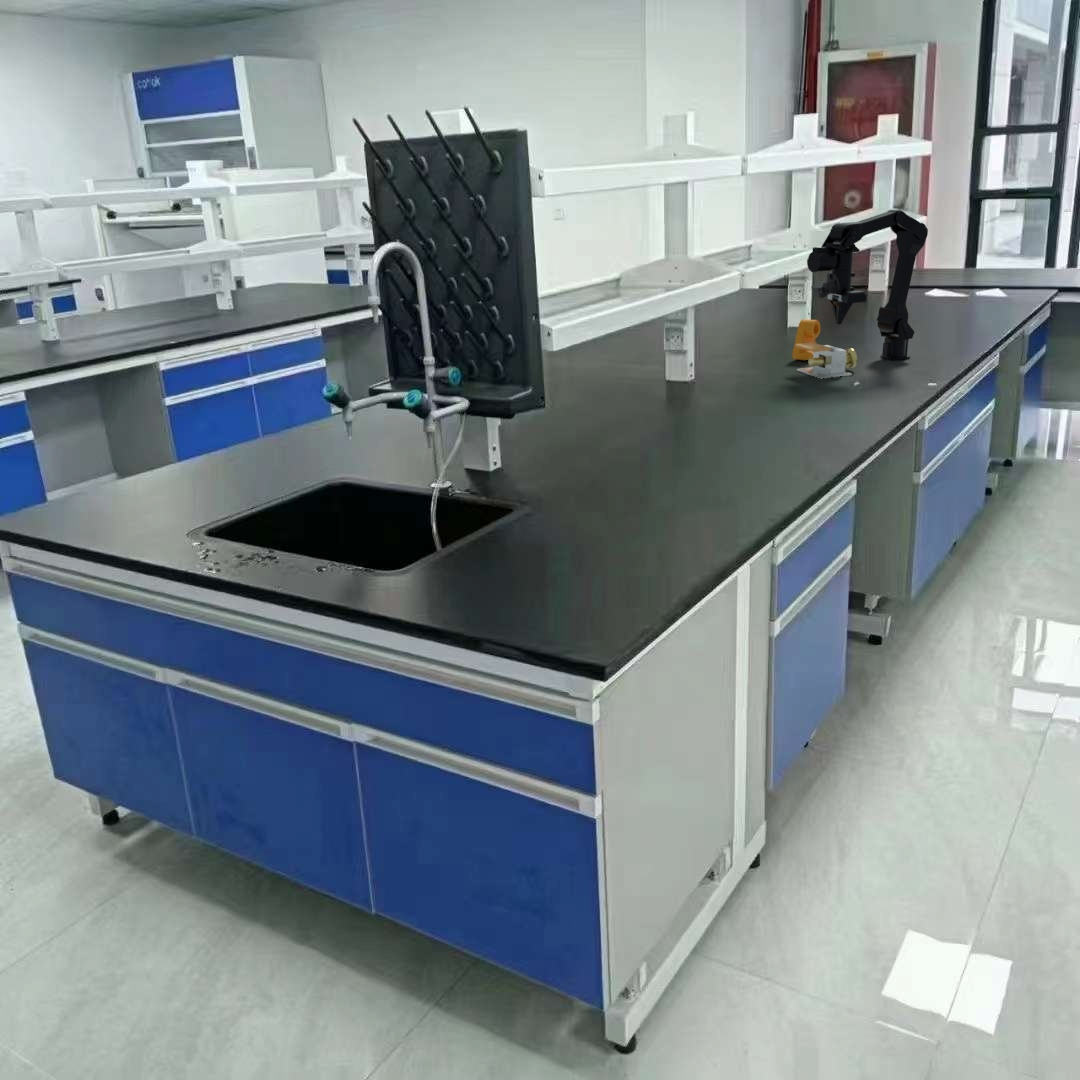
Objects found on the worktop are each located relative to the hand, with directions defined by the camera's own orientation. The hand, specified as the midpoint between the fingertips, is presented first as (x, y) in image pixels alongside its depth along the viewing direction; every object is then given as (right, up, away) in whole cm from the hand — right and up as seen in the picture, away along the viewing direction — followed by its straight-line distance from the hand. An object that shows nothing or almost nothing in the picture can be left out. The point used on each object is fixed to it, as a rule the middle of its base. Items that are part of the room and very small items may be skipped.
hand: (838, 324), depth 303 cm
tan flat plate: (-9, -9, -6) cm, 14 cm away
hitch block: (-5, -15, -3) cm, 16 cm away
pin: (-3, -14, -3) cm, 14 cm away
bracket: (-3, -7, +17) cm, 19 cm away
